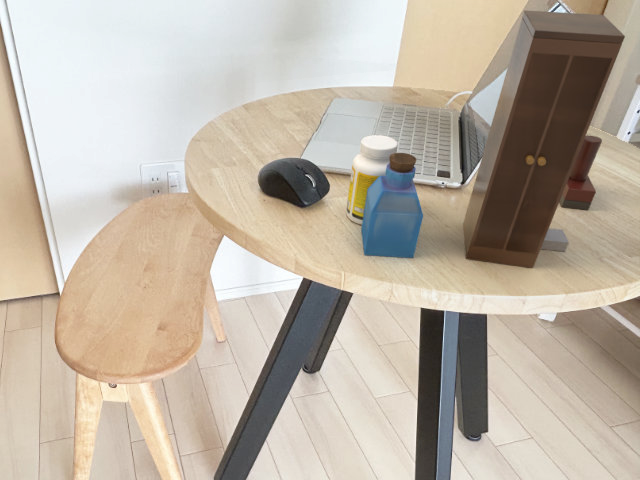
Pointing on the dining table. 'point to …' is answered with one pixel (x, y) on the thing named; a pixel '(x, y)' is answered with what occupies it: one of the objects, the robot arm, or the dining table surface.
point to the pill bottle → (367, 172)
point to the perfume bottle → (393, 211)
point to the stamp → (581, 177)
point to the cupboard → (537, 132)
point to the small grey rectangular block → (555, 240)
